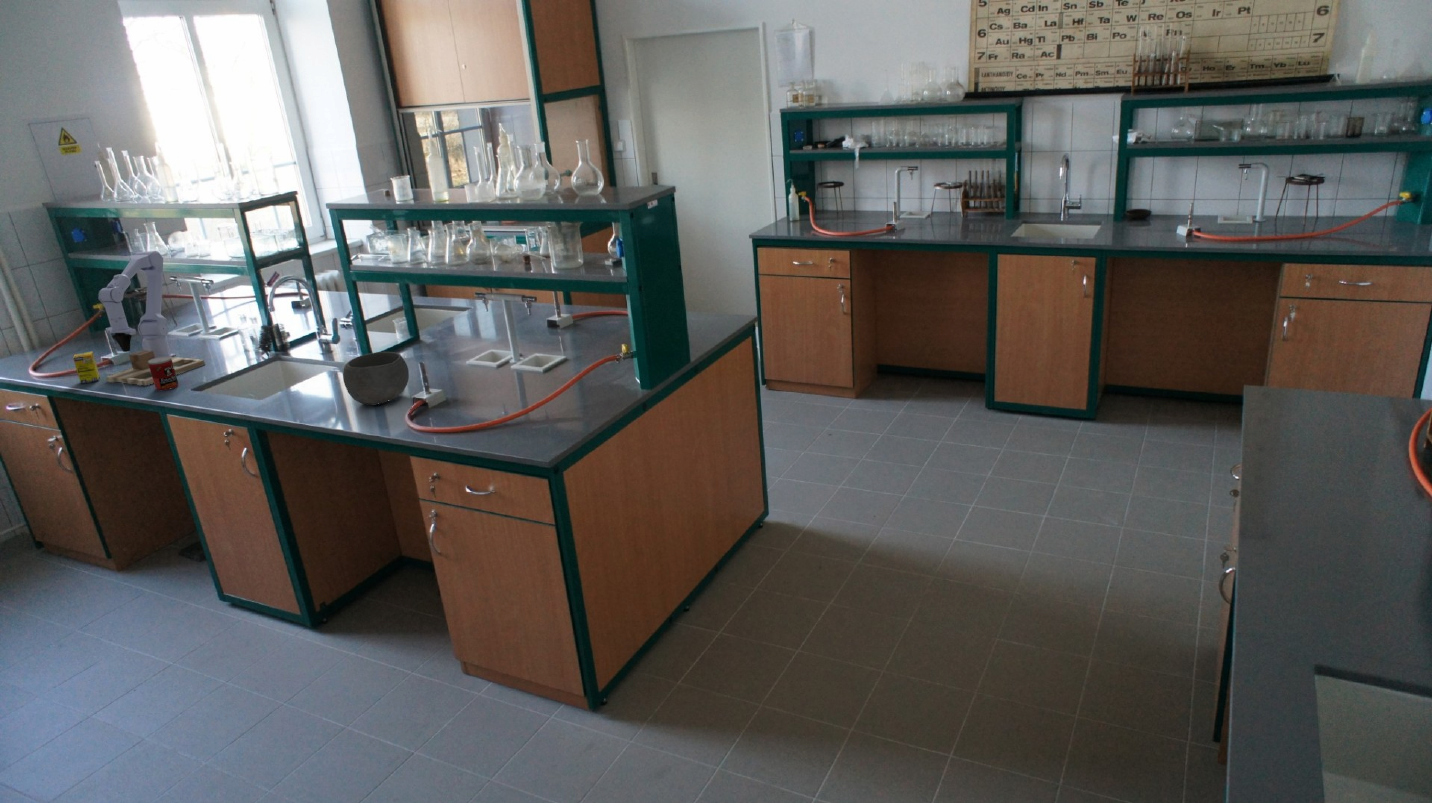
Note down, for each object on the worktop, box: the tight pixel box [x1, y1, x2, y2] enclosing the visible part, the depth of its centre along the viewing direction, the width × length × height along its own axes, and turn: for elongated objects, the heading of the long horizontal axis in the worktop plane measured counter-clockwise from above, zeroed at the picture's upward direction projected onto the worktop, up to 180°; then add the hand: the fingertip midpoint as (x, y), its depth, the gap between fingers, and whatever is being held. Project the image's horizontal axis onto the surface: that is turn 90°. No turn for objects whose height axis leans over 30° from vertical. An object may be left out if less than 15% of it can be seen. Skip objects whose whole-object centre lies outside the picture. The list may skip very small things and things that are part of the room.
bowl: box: [342, 351, 410, 406], centre depth 316 cm, size 21×21×15 cm
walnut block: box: [128, 349, 155, 370], centre depth 366 cm, size 6×6×6 cm
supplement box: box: [72, 351, 101, 385], centre depth 359 cm, size 6×6×11 cm
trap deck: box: [105, 356, 206, 386], centre depth 365 cm, size 22×26×2 cm
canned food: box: [148, 356, 179, 391], centre depth 346 cm, size 8×8×11 cm
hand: (126, 351), depth 368 cm, fingers closed
